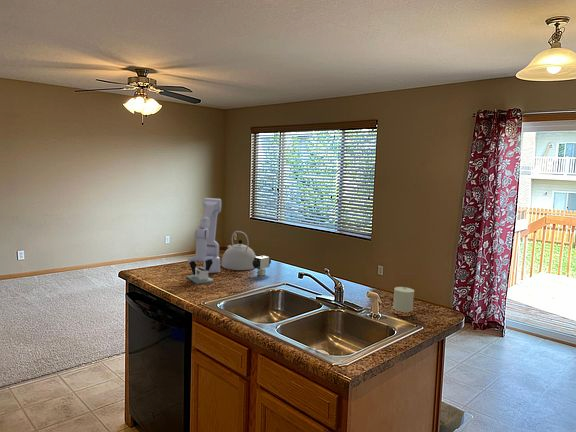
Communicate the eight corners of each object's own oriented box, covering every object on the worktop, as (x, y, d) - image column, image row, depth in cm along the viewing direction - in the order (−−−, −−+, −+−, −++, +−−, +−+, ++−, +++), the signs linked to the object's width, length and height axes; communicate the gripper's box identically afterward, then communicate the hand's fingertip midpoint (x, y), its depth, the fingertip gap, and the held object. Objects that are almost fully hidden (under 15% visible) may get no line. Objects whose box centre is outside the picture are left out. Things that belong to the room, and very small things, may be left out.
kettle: (212, 263, 281) (213, 229, 278) (241, 259, 296) (242, 227, 294) (234, 271, 263) (236, 235, 260) (263, 267, 278) (265, 232, 275)
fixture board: (203, 275, 249) (203, 274, 249) (213, 281, 237) (213, 280, 237) (187, 277, 243) (187, 275, 243) (196, 283, 232) (196, 281, 231)
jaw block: (201, 275, 246) (201, 266, 245) (208, 279, 237) (208, 270, 237) (192, 276, 243) (192, 267, 242) (199, 280, 235) (199, 271, 234)
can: (411, 311, 206) (414, 287, 205) (412, 317, 197) (415, 292, 196) (392, 309, 208) (394, 284, 207) (392, 315, 199) (394, 289, 198)
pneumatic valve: (270, 274, 261) (271, 254, 260) (257, 277, 252) (258, 257, 251) (263, 272, 264) (264, 253, 263) (250, 275, 255) (251, 255, 254)
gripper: (191, 252, 231) (190, 276, 232) (216, 250, 239) (215, 274, 241) (186, 249, 237) (185, 273, 238) (211, 248, 245) (210, 271, 246)
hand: (200, 274), depth 240 cm, fingers open, 7 cm apart
